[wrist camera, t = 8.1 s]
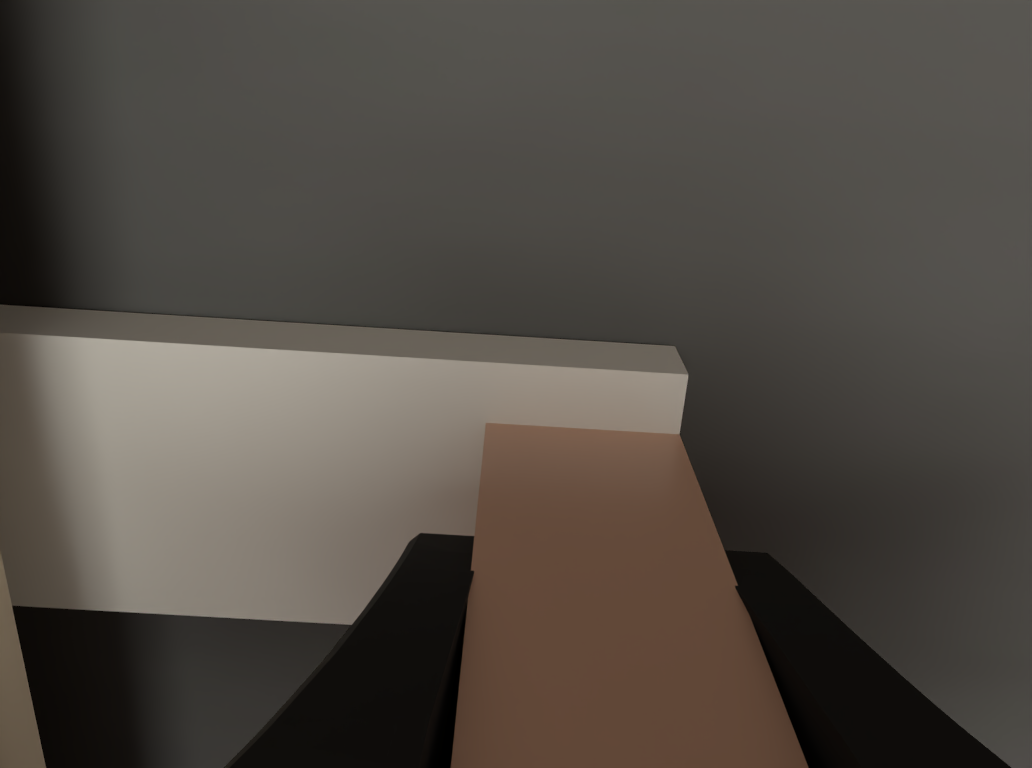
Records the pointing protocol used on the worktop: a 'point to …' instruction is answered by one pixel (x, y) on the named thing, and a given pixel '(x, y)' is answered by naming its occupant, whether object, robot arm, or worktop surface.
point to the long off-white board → (397, 513)
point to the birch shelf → (15, 695)
